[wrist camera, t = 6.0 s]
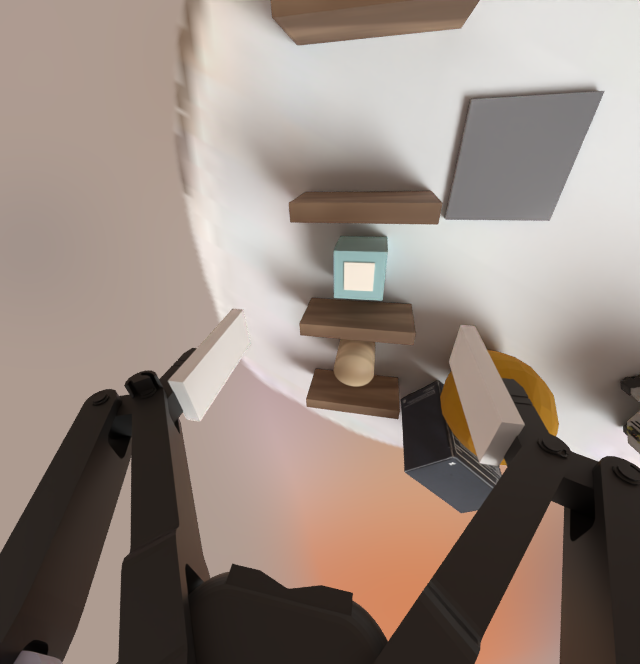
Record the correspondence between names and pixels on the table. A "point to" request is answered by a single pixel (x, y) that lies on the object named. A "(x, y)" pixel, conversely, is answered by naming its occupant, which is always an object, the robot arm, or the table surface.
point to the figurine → (636, 427)
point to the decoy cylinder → (355, 362)
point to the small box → (442, 454)
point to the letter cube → (360, 267)
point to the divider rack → (363, 194)
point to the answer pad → (518, 155)
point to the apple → (506, 369)
